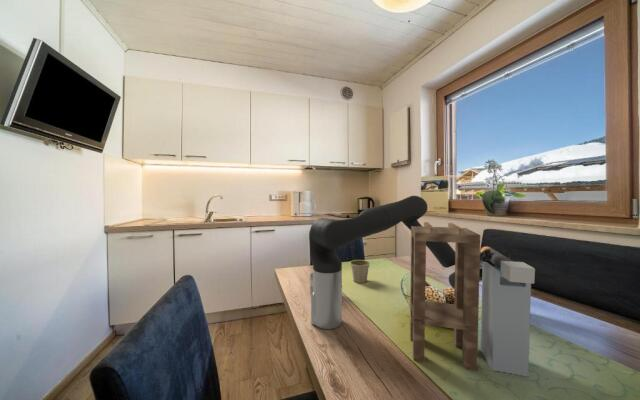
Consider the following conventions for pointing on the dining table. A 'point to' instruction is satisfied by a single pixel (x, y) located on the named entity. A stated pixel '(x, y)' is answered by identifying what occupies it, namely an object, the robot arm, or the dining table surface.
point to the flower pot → (360, 270)
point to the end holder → (505, 322)
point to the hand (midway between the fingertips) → (497, 253)
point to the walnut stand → (466, 291)
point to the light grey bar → (512, 268)
